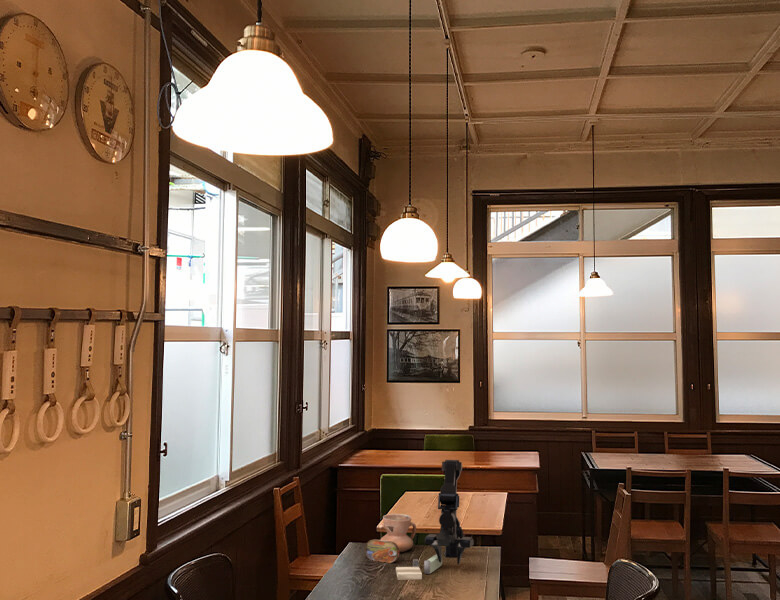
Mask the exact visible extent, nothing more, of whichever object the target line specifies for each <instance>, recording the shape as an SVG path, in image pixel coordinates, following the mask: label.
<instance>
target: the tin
mask: <svg viewBox="0 0 780 600" xmlns="http://www.w3.org/2000/svg"><path fill="white" fill-rule="evenodd" d="M364 552H365V556H366V557H367V559H368V560H370V561H372V560H373V561H372V562H378V561H379V562H378V563H384V562H386V564H392V563H394V562H396V561H398V558H399V557H400V552H399V547H398V546H397V544H396V543H394V542H392V541H385V540H381V539H375V538H374V539H370V540H368V541H367V542H366V544H365V548H364Z"/></svg>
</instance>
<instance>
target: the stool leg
mask: <svg viewBox="0 0 780 600" xmlns="http://www.w3.org/2000/svg"><path fill="white" fill-rule="evenodd" d="M423 563H424V564H423V568H424V570H423V573H424V574H426V575H429V574H431V573H433V572H435V571H436V570H438V569H439V568H440V567H442V566H443V560H442V561H441V563H440V562H439V559H438V556H437V554H435V555H432V556H431V557H430V558H428V559H425V560H424V561H423Z"/></svg>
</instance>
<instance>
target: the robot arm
mask: <svg viewBox="0 0 780 600" xmlns="http://www.w3.org/2000/svg"><path fill="white" fill-rule="evenodd" d="M441 471H443V475H444V482H443V485H441V487H440V492H438V500H437V501H438V502H437V503H438V504H437V510H440V516H439V518H438V523H439V525H440V530H439V532H438V533H436V534H435V533H434V534H433V533H429V534H427V535H426V536H425V537H424V544H425V545H429V547H432V548H433V549H434V551H435V553H436V554H437V556H438V559H439V562H440V563H441V561H442V562H443V555H444V557H445V558H456V561H457V563H456V564H457V565H459V564H461V563H460V562H461V560H462V556H463V553H464V551H465V550H466V549H468V548H471V547H473V546H474V545H475V544H474V543H475V542H474V539H473V537H471V536H464V530H463V527H462V526H461V522H460V520H459V518H458V517H457V516H458V515H457V511H458V509H459V508H460V496H459V493H458V492H457V489H458V488H457V486H458V480H459V478H460V476H461V472H462V471H463V462H462V461H460V460H459V459H445V460H443V461H441ZM442 546H443V547H444V551H442ZM442 553H443V554H442ZM436 554H435V555H436Z"/></svg>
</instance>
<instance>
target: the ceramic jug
mask: <svg viewBox="0 0 780 600" xmlns="http://www.w3.org/2000/svg"><path fill="white" fill-rule="evenodd" d="M382 520H383V524H378V528H379V529H384V530H385V532H386V534H385V535H384V536H382V537H381V538H380V540H385V541H392V542H394V543H396V544H397V546H398V547H399V553H403V552H407V551H408V550H410V549H412V547H413V546H414V541H413V539H414V537H415V535H416V533H417V525H416V523H415V522H413V521H412V516H410V515H408V514H404V513H388V514H385V515H383V516H382ZM410 527H412V531H411V533H410V534H411V535H410V536H409V535H408V534H407V533H408V530H409V528H410Z"/></svg>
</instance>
